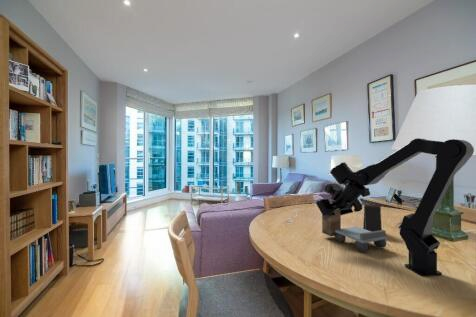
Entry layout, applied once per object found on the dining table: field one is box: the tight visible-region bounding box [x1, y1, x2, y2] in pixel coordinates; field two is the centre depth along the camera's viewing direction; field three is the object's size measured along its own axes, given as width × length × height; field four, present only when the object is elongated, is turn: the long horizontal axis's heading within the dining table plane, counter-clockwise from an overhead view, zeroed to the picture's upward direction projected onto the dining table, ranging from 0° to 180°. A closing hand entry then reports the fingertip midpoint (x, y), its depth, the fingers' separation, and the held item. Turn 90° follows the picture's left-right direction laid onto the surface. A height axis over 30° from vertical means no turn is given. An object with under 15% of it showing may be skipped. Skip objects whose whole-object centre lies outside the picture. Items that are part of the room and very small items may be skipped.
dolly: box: [334, 226, 387, 253], centre depth 93 cm, size 14×11×6 cm
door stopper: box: [362, 204, 383, 232], centre depth 107 cm, size 9×6×12 cm, turn 160°
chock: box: [321, 209, 342, 237], centre depth 100 cm, size 5×5×11 cm
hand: (328, 216), depth 102 cm, fingers closed on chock, 5 cm apart
